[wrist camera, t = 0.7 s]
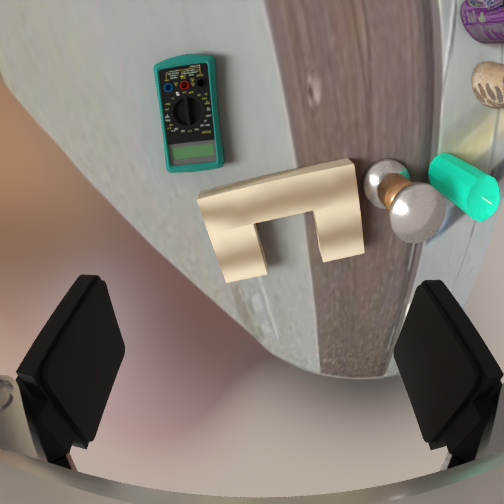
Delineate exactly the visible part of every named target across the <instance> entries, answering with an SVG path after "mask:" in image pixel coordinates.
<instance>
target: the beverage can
mask: <svg viewBox="0 0 504 504" xmlns="http://www.w3.org/2000/svg"><path fill="white" fill-rule="evenodd" d="M460 13H461V19H462V22H463V25H464V27H465V29H466V30H467V32H468V33H469V34H470V35H471V36H472V37H473V38H474V39H475V40H477V41H479V42H482V43H504V0H465V1H464V2H463V4H462V6H461V10H460Z"/></svg>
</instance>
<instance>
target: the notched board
mask: <svg viewBox="0 0 504 504" xmlns="http://www.w3.org/2000/svg"><path fill="white" fill-rule="evenodd" d="M197 202H198V205H199V208H200V211H201V214H202V217H203V219H204V222H205V225H206V228H207V231H208V234H209V236H210V239H211V242H212V245H213V248H214V250H215V253H216V256H217V259H218V261H219V264H220V267H221V270H222V272H223V275H224V278H225V281H226V283H228V282H233V281H237V280H242V279H247V278H252V277H257V276H262V275H267V262H266V258H265V255H264V251H263V247H262V244H261V240H260V237H259V233H258V229H257V226H256V223H259V222H263V221H268V220H272V219H277V218H281V217H286V216H290V215H295V214H299V213H304V212H308V211H313V216H314V221H315V227H316V232H317V238H318V243H319V249H320V253H321V256H322V259H323V262H327V261H332V260H336V259H341V258H345V257H350V256H354V255H358V254H363V253H364V242H363V232H362V222H361V213H360V204H359V196H358V188H357V181H356V174H355V167H354V163H352V162H351V161H350V160H349V159H348V158H346V159H340V160H335V161H330V162H325V163H320V164H315V165H310V166H306V167H301V168H296V169H292V170H287V171H283V172H278V173H274V174H269V175H265V176H261V177H257V178H252V179H248V180H244V181H240V182H236V183H232V184H228V185H224V186H220V187H216V188H213V189H209V190H205V191H201V192H200V194H199V196H198V198H197Z"/></svg>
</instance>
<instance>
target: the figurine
mask: <svg viewBox="0 0 504 504" xmlns="http://www.w3.org/2000/svg"><path fill="white" fill-rule="evenodd" d="M472 88H473V91H474V93H475V95H476V97H477V99H478V100H479V101H480V102H481V103H482V104H484V105H486V106H488V107H492V108H504V65H503V64H499V63H496V62H490V61H489V62H482V63H480V64H478V65H477V66H476V67H475V68H474V71H473V73H472Z"/></svg>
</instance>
